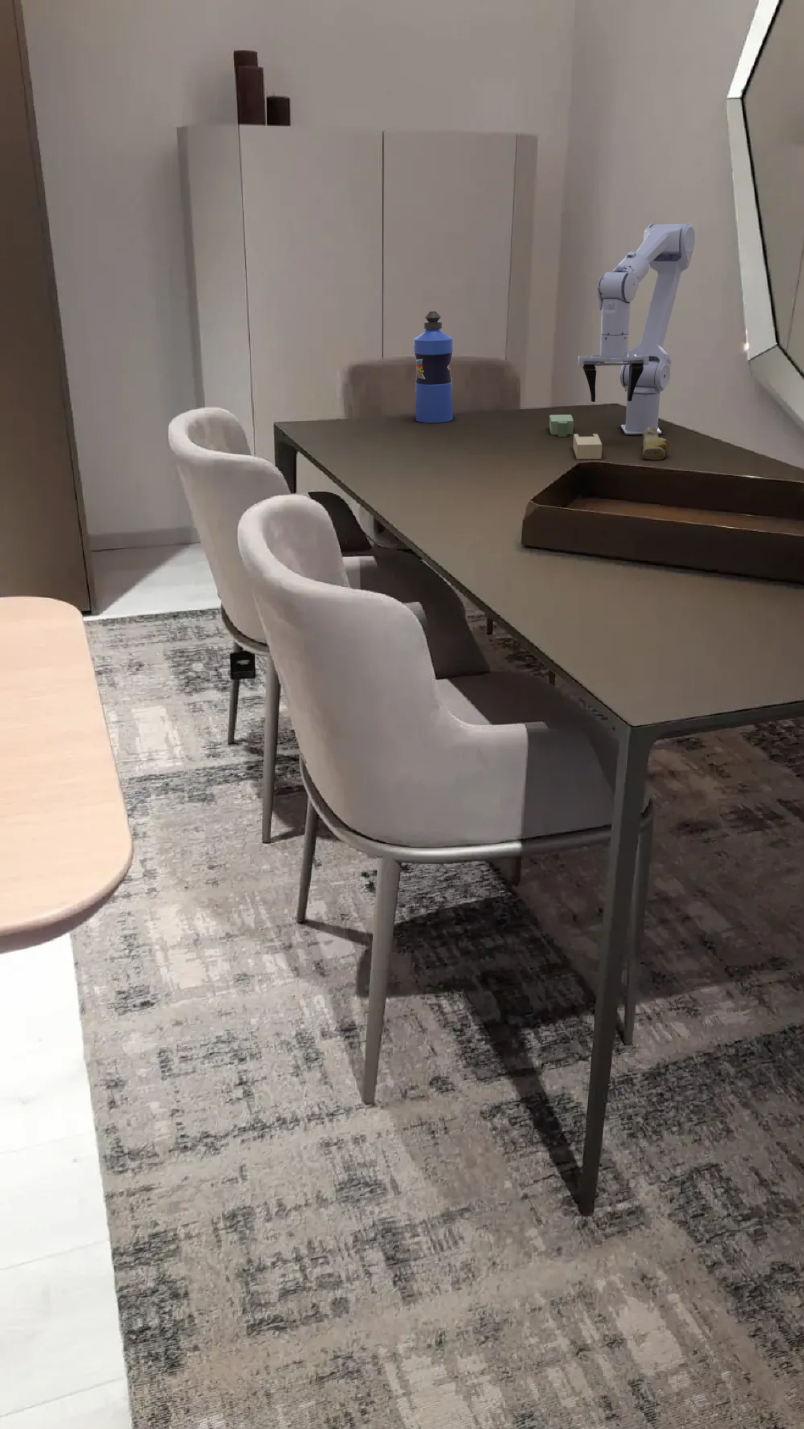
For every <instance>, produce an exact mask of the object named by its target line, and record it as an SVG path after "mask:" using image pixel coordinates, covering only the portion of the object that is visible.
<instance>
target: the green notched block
mask: <svg viewBox="0 0 804 1429" xmlns="http://www.w3.org/2000/svg"><path fill="white" fill-rule="evenodd" d="M548 423H549V425H548V428H549V433H550V435H551V436H552V435H557V437H559V438H562V437H563V438H565V437H568V435H574V424H575V423H574V418H573V416H572V414H549V422H548Z"/></svg>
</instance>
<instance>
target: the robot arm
mask: <svg viewBox="0 0 804 1429" xmlns="http://www.w3.org/2000/svg"><path fill="white" fill-rule="evenodd" d="M695 246H696V233H695V228H694V227H693V225H692V223H690V222H686V223H663V224H661V223H660V224H659V223H658V224H657V223H649V224H648V226H646V228H645V229H644V232H643V237H642V243H641V244H640V246H639V247H638V248H637V250H636V251H628V253H626V255H625V257H623V258H622V260H621V261H620V262H619V263H618V264H617V266H615V268H614V269H613V270H612V271H606V272H605V273H604V274H602V275H601V276H600V277H599V280H598V282H597V283H598V284H597V287H596V293H597V297H598V303H599V311H601V321H600V340H599V341H600V344H599V354H592V355H578V356H577V366H578V368H579V367H580V368H581V367H582V370H583V372H584V375H585V377H586V381H587V385H588V389H589V393H590V402H591V403H596V380H597V368H596V367H604V366H607V367H609V366H621V368H620V371H619V381H620V384H621V386H622V388H623V389H624V392H626V394H627V395H626V409H625V414H626V415H625V424H621V425H620V427H621V429H622V431H623V434H624V435H643V432H644V431H645V430H646V429H647V428H648V427H652V428H655V429H656V430H657V432H658V433H659V434H658V435H662V430H661V429H660V428H659V416H660V415H659V414H660V402H661V401H660V400H661V392H663V391H664V390H665V389H666V388H667V386H668V385H669V383H670V382H669V381H670V379H671V367H672V358H671V356H670V355H669V353H667V351H665V349H664V348H663V347H664V343H665V339H666V335H667V331H668V328H669V325H670V321H671V316H672V312H673V308H674V305H675V300H676V297H677V293H678V289H679V285H680V281H681V278H682V273H683V272H684V271H685V270H687V269H689V267H690V263H691V261H692V257H693V253H694V250H695ZM650 269H652V270H654V271H655V272H657V277H656V280H655V284H654V288H653V291H652V292H653V293H652V296H651V300H650V304H649V308H648V312H647V315H646V320H645V323H644V327H643V330H642V335H641V338H640V343H639V344H638V345H636V346H635V347H633V348H632V349H630V350H629V349H628V348H629V332H630V318H631V317H630V316H631V315H630V314H631V303H632V301H634V300H635V297H636V295H637V294H636V293H637V290H638V288H639V284H640V283H641V282H642V280H643V279H645V277H646V276H647V275H648V273H649V270H650Z"/></svg>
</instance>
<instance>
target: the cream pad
mask: <svg viewBox="0 0 804 1429" xmlns="http://www.w3.org/2000/svg"><path fill="white" fill-rule="evenodd" d="M572 444H573V446H572V448H573V452H574V455H575V458H576V460H602V454H603V443H602V440H601V439H600V437H599V435H598V433H592V436H579V433H573V442H572Z"/></svg>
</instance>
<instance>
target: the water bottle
mask: <svg viewBox="0 0 804 1429" xmlns="http://www.w3.org/2000/svg"><path fill="white" fill-rule="evenodd" d="M441 318H442V316H441V315H440V314H439V313H438V311H434V310H433V311H428V313H427V314H426V315H425V316H424V319H425V320H426V321H423V330H424V332H423V333H421V334H419V335H418V336H416V337H415V338H413V353H414V358H415V367H416V375H415V384H414V385H415V388H414V390H415V391H414V392H415V393H414V394H415V421H417V422H418V423H425V424H426V423H428V424H439V423H446V422H447V423H448V422H450V421H452V420H453V419H454V418H453V417H454V416H453V410H454V408H453V378H452V371H451V368H452V357H453V352H454V344H453V342H454V339H453V337H452V336H450V335H448V334H446V333H444V332H443V331H442V328H443V322H442V321H441V320H440V319H441Z"/></svg>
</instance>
